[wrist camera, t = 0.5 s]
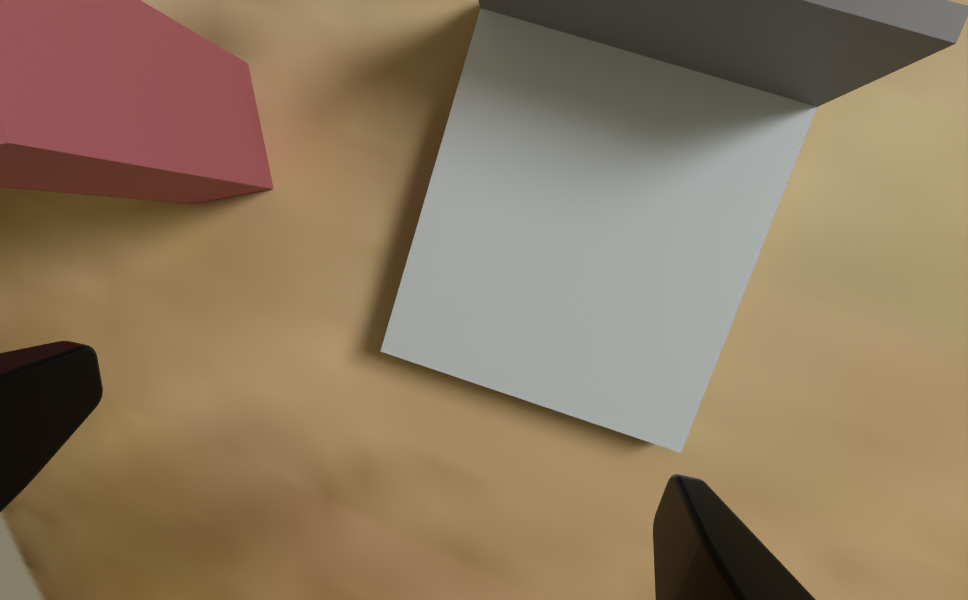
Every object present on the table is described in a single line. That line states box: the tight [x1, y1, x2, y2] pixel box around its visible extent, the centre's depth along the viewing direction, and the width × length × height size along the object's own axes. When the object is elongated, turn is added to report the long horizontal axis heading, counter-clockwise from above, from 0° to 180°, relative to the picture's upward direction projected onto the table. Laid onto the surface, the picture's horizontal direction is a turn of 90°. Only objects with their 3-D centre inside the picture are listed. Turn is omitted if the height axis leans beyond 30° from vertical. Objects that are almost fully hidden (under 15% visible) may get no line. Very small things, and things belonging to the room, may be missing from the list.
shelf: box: [380, 0, 968, 453], centre depth 17 cm, size 14×12×8 cm
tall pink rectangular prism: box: [0, 0, 273, 204], centre depth 16 cm, size 5×4×11 cm
